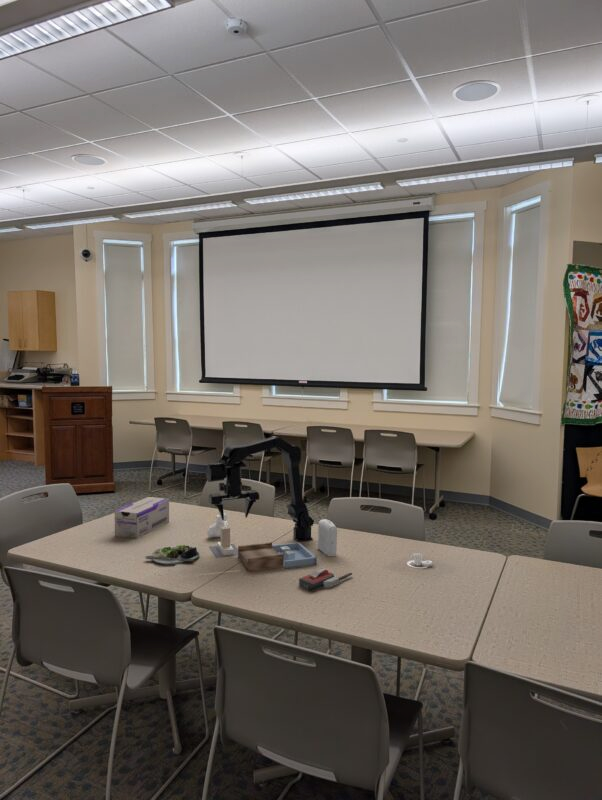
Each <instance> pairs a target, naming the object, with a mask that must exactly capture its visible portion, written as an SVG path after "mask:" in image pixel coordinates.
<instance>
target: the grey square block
mask: <svg viewBox="0 0 602 800" xmlns="http://www.w3.org/2000/svg"><path fill="white" fill-rule="evenodd" d="M293 559H295V553H294V552H293V551H285V560H293Z"/></svg>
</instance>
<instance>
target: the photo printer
mask: <svg viewBox="0 0 602 800" xmlns="http://www.w3.org/2000/svg"><path fill="white" fill-rule="evenodd" d="M317 525H318V529H317V533H318V535H317V548H318V550H320V552H322V553H324V554H325V555H326V556H328V557H334V556H336V555H337V550H338V549H337V548H338V547H337V546H338V545H337V544H338V540H337V539H338V529H337V526H336V525H335V524H334V522H332V521H331V520H330V519H326V518H325V519H320V520H319V522H318V524H317Z"/></svg>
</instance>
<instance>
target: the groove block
mask: <svg viewBox="0 0 602 800" xmlns="http://www.w3.org/2000/svg"><path fill="white" fill-rule="evenodd" d="M272 545H273V542H262V543H253V544H244V545H238V546H237V549H238V555H237V557H238V559H239V560H240V561H241V563H242V564H243V566H245V569H246V570H247V572H252V571H253V572H254V571H261V570H268V569H276V568H277V569H278V568H284V554H279V553H278V552H277V551H276V550H275V549H274V548H273V547H272Z"/></svg>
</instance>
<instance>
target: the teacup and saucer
mask: <svg viewBox="0 0 602 800" xmlns="http://www.w3.org/2000/svg"><path fill="white" fill-rule="evenodd" d="M409 557H410V560H409V561H407V562H406V565H407V566H409V567H410V568H413V569H426V568H429V567H432V565H433V561H432V560H423V554H422V553H418V552H417V553H413V554H411V555H410V556H409ZM412 557H413V559H412ZM411 563H414V565H415V566H414V565H411ZM419 566H421V567H419Z"/></svg>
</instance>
